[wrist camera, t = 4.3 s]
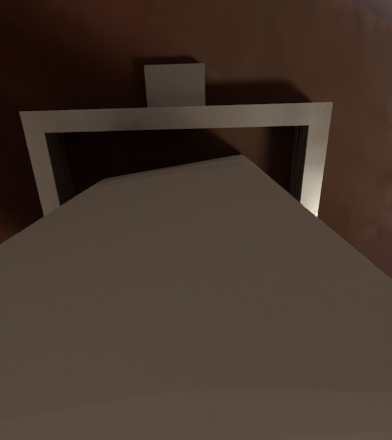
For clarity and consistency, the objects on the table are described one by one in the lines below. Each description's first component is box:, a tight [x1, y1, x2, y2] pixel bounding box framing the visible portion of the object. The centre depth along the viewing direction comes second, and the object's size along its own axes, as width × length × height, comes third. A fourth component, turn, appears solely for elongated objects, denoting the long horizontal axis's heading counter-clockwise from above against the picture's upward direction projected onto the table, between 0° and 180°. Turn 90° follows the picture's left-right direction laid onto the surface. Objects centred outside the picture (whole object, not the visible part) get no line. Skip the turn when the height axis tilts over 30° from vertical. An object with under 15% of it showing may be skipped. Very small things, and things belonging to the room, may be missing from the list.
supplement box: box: [0, 155, 392, 440], centre depth 10 cm, size 9×9×15 cm
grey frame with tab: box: [19, 63, 333, 217], centre depth 16 cm, size 19×15×2 cm
